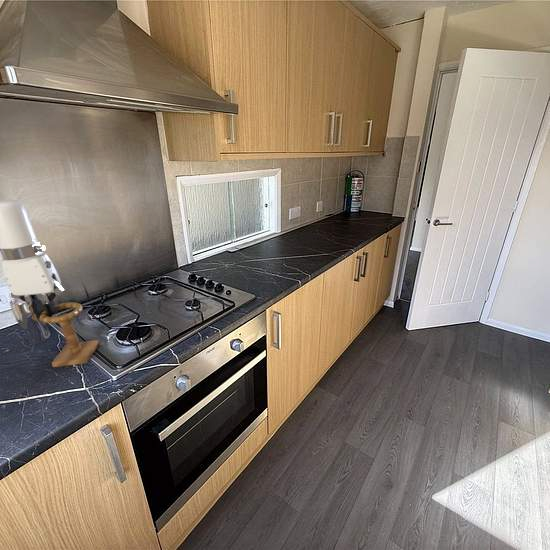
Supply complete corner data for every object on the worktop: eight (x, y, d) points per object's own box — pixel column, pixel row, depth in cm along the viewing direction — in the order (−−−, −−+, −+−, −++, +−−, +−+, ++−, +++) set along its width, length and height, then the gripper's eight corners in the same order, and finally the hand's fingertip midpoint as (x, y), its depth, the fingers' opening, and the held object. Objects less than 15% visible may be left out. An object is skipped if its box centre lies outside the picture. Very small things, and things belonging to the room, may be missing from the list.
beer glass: (53, 331, 98) (37, 291, 92) (55, 341, 93) (38, 299, 87) (26, 339, 94) (8, 298, 88) (27, 350, 89) (8, 307, 83)
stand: (52, 367, 81) (35, 326, 76) (68, 347, 90) (54, 309, 84) (87, 363, 83) (73, 322, 77) (99, 343, 91) (87, 305, 85)
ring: (32, 325, 76) (30, 320, 75) (52, 307, 84) (51, 302, 84) (73, 322, 77) (71, 317, 76) (88, 305, 86) (87, 300, 85)
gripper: (63, 244, 77) (84, 305, 84) (-4, 249, 75) (23, 311, 82) (48, 254, 70) (72, 319, 78) (-26, 259, 68) (5, 326, 75)
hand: (46, 314), depth 80 cm, fingers closed on ring, 2 cm apart
